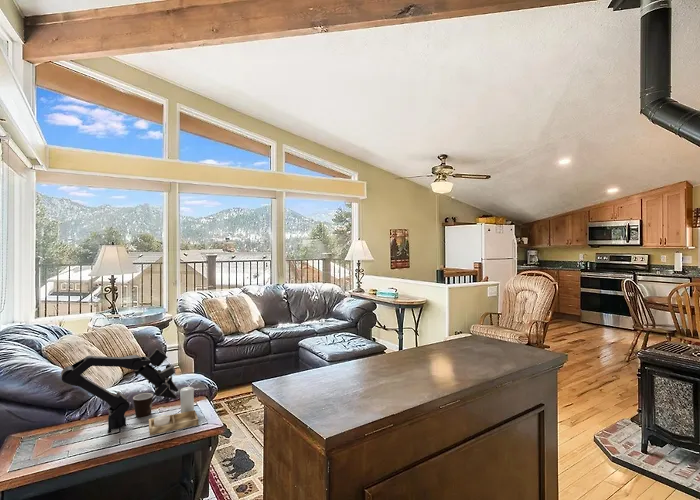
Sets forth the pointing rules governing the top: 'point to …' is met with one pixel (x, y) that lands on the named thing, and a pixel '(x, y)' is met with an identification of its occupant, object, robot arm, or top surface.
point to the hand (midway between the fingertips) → (176, 394)
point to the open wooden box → (175, 422)
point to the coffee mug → (143, 404)
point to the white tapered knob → (187, 399)
